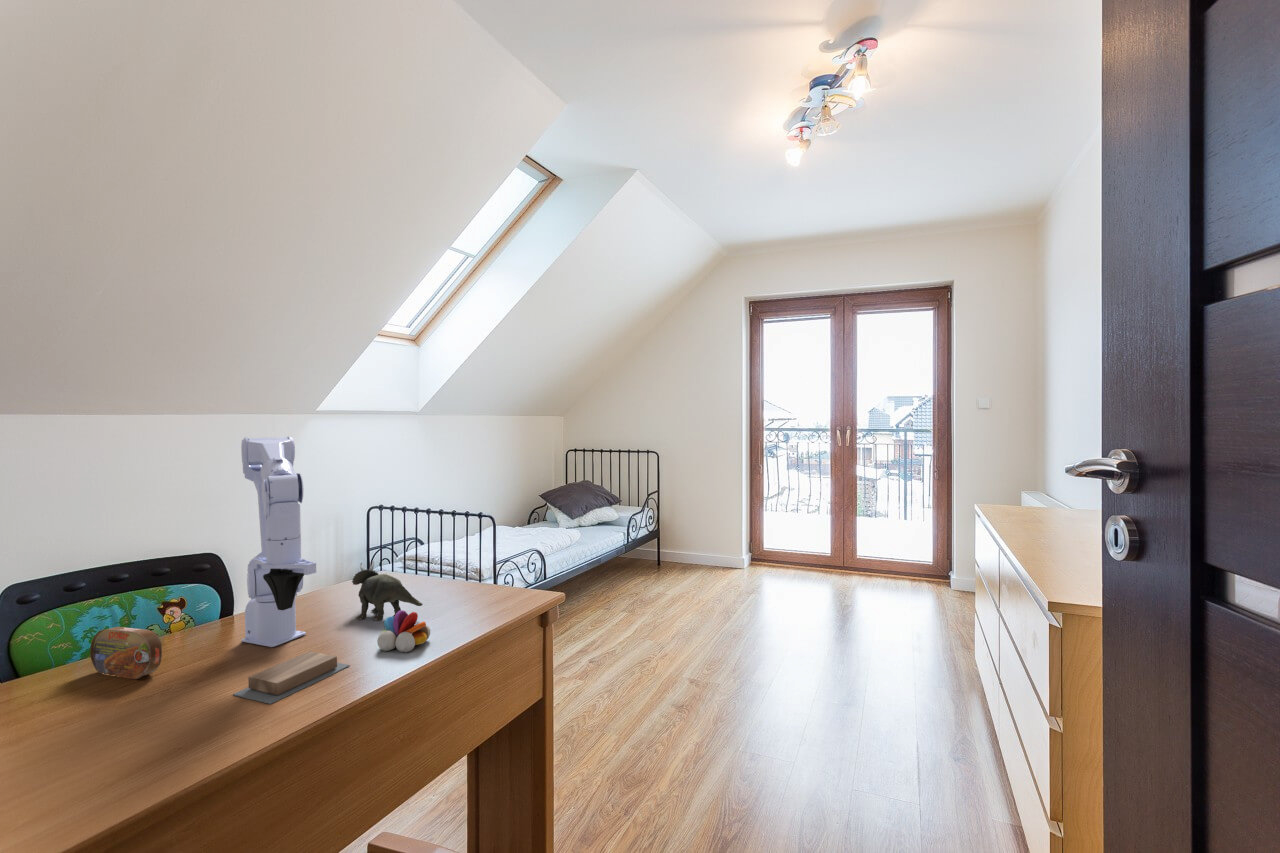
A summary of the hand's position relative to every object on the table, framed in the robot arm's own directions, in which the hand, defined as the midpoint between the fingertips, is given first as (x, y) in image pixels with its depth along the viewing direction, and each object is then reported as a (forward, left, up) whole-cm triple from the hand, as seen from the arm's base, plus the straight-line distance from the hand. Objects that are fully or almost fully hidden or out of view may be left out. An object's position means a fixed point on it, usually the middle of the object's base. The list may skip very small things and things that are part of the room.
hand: (285, 608), depth 116 cm
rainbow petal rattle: (+15, +15, -11) cm, 24 cm away
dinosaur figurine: (-3, +27, -11) cm, 29 cm away
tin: (-23, -14, -11) cm, 29 cm away
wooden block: (+5, -5, -9) cm, 11 cm away
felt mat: (+8, -5, -10) cm, 14 cm away
